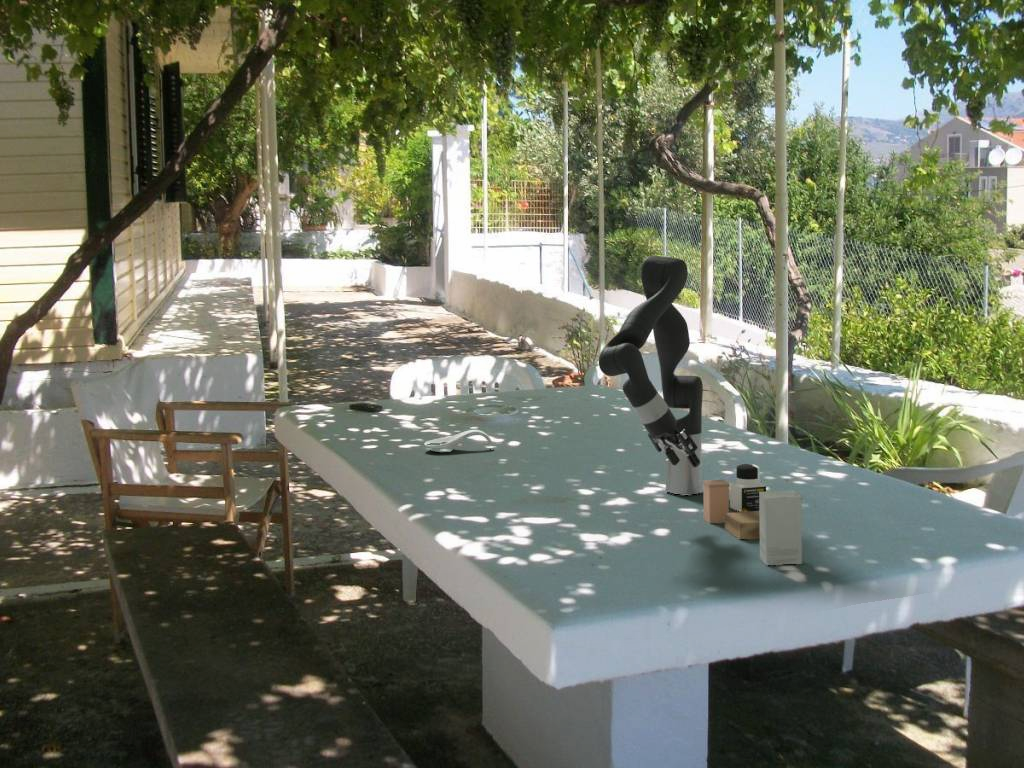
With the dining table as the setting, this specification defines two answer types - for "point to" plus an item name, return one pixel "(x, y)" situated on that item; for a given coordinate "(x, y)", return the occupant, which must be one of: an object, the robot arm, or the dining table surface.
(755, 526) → the teak block
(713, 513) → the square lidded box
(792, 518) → the skincare box
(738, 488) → the medicine bottle
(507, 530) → the dining table surface
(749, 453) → the dining table surface
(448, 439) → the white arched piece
